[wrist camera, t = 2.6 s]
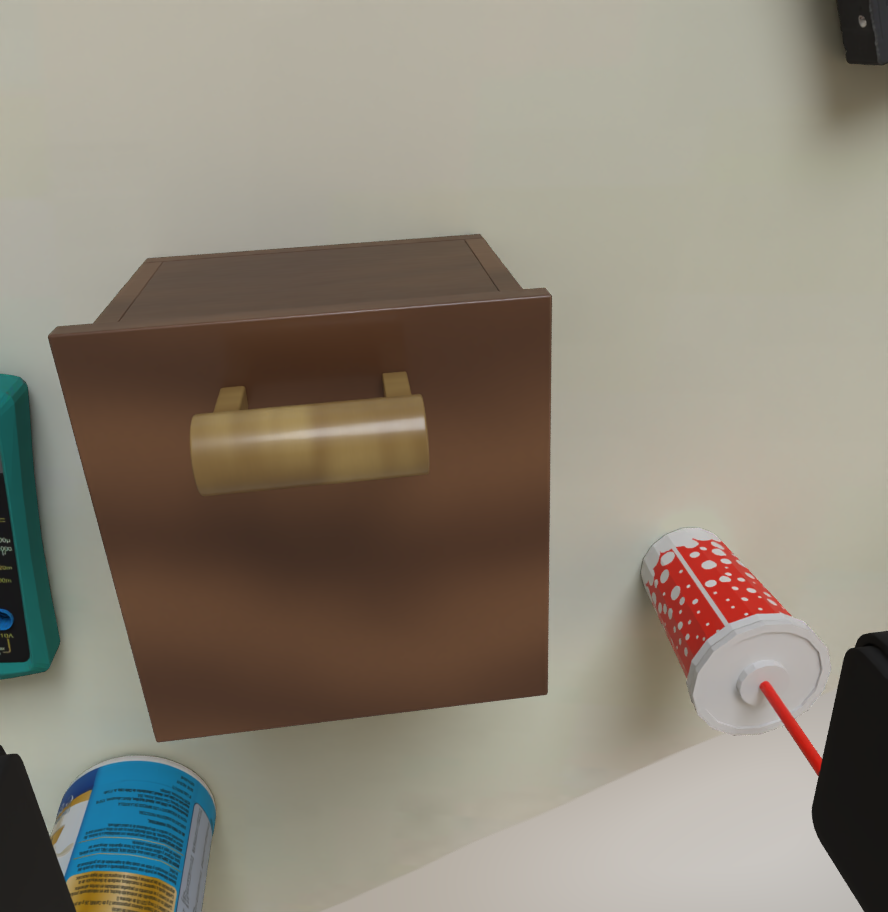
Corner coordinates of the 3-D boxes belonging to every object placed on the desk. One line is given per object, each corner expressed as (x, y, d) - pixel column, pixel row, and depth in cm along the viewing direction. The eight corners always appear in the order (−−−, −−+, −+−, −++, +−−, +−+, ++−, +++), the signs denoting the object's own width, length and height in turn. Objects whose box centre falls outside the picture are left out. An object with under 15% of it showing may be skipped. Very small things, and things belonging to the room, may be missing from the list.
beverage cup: (654, 631, 46) (776, 853, 33) (607, 552, 43) (721, 761, 31) (756, 577, 45) (921, 783, 32) (715, 493, 42) (877, 683, 30)
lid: (55, 325, 23) (-18, 402, 18) (545, 286, 24) (599, 348, 19) (160, 725, 29) (127, 861, 25) (542, 679, 31) (583, 799, 26)
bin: (146, 258, 34) (64, 356, 23) (480, 233, 35) (545, 316, 25) (204, 544, 40) (160, 724, 30) (488, 515, 41) (542, 678, 31)
